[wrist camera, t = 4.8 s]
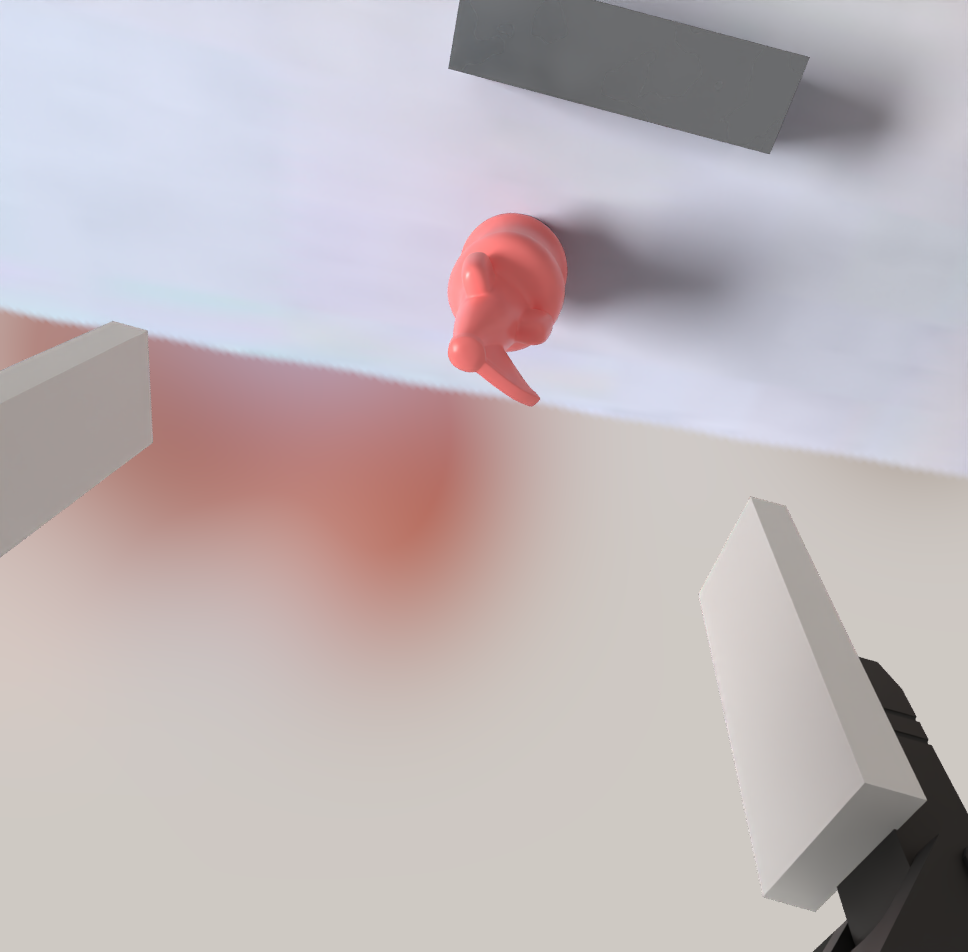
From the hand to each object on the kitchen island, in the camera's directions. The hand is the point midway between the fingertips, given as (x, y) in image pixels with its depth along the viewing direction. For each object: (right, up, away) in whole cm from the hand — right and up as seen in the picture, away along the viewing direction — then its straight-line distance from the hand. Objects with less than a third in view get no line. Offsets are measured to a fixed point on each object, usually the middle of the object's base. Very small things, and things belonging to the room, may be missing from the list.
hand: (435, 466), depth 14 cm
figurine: (+3, +11, +18) cm, 21 cm away
